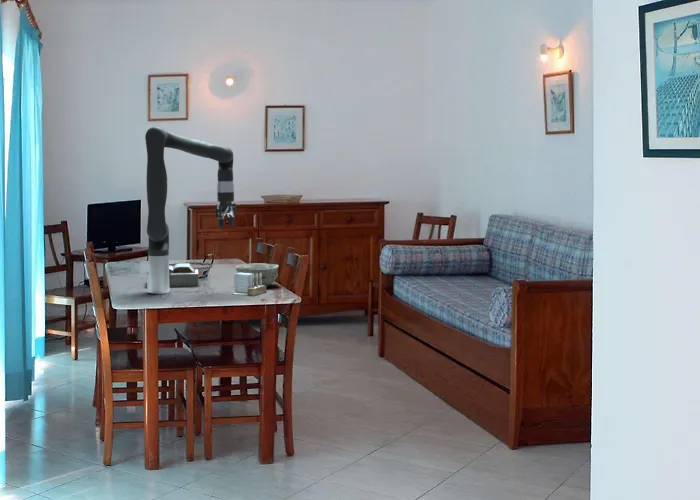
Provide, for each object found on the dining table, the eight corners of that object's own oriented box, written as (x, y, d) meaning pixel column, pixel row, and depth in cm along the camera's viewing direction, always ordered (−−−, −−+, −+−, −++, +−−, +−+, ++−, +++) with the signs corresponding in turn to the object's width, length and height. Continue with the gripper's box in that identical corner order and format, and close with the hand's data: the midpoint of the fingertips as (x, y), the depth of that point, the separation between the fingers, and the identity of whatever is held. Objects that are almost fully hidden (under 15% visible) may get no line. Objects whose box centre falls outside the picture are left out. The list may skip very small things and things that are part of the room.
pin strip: (247, 295, 406) (247, 275, 405) (260, 291, 416) (260, 272, 416) (253, 296, 404) (253, 276, 403) (266, 292, 415) (266, 272, 414)
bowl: (237, 290, 421) (237, 269, 420) (233, 284, 441) (233, 263, 440) (281, 288, 425) (281, 267, 424) (276, 282, 445) (276, 262, 444)
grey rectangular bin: (196, 288, 428) (196, 268, 427) (140, 289, 429) (139, 268, 428) (205, 281, 452) (204, 262, 450) (151, 281, 452) (150, 262, 451)
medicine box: (254, 292, 413) (253, 273, 412) (248, 293, 409) (247, 274, 408) (240, 291, 417) (240, 272, 416) (234, 292, 413) (233, 273, 412)
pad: (232, 294, 410) (232, 293, 410) (243, 290, 419) (243, 290, 419) (247, 295, 407) (247, 294, 407) (258, 291, 416) (258, 291, 416)
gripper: (226, 190, 419) (227, 225, 421) (210, 191, 406) (210, 227, 408) (240, 190, 416) (241, 225, 418) (224, 192, 403) (225, 228, 405)
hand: (226, 226), depth 413 cm, fingers open, 8 cm apart
